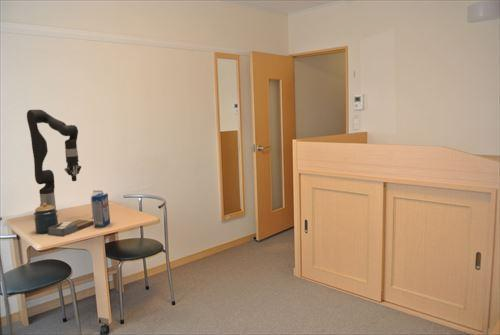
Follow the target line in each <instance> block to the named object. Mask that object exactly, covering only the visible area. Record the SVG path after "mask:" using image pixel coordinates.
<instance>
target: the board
mask: <svg viewBox="0 0 500 335" xmlns="http://www.w3.org/2000/svg"><path fill="white" fill-rule="evenodd" d="M71 222H72V224H73V225H74V224H77V230H78V231H81V230H83V229H87V228H89V227H91V226H94V220H87V219H76V220H74V221H71ZM78 231H77V232H78Z"/></svg>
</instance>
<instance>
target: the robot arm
mask: <svg viewBox="0 0 500 335" xmlns="http://www.w3.org/2000/svg"><path fill="white" fill-rule="evenodd" d="M26 120H27V125H28V129H29V132H30V133H29V134H30V138H31V139H30V140H31V141H30V142H31V150H32V156H33V163H34V164H33V165H34V167H33V168H34V179H35V182H36V184H38V185H43V184H44V186H43V187H41V188H40V189H39V191H38V192H39V199H40V204H39V206H42V204H43V203H46V204H47V205H52V206H54V207H55V210H57V208H56V207H57V205H56V197H55V196H56V195H55V176H54V172H53V171H52V170H50V169H45V170H43V169H44V168H43V164H44V161H45V159H46V157H47V155H48V152H49V151H48V143H47V140H46V138H45V137H44V136H43V134H41V131H40V130H39V126H38V124H43V123H44V124H48V126H49V127H50V129H52V130H54V131H57V132H58V133H59V134H61V136H63V137H69V138H68V139H66V140H65V141H64V150H65V162H66V167H65V168H64V171H65V173H66V174H67V175H68V176H70V177H71V181H72V182H77V175H79V174H80V171H81V169H82V166H81V165H79V161H80V160H79V153H78V146H77V144H78V143H77V142H78V141H77V140H78V134H79V130H78V127H77V126H76V125H72V124H66V123H65V122H63V121H62V120H59V119H57V118H55V117H53V116H51V115H50V114H49V113H47V112H46V111H44V110H42V109H29V110H27V113H26Z"/></svg>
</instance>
